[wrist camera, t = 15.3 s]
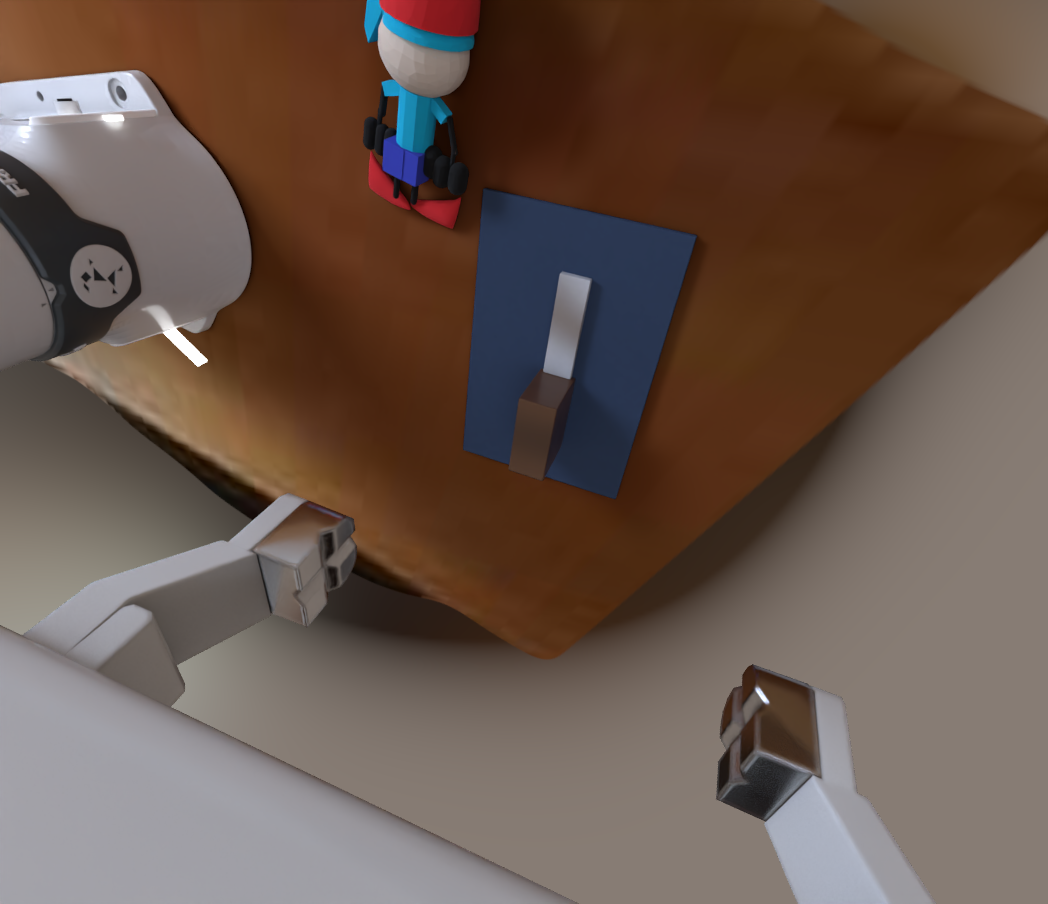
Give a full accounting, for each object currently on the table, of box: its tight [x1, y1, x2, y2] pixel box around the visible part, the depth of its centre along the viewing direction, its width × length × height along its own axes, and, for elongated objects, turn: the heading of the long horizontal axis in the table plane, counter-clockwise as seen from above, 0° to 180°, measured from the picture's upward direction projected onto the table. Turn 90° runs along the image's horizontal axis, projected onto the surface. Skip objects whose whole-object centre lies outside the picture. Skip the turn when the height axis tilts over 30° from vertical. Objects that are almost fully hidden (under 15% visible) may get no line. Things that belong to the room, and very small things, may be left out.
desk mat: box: [463, 188, 697, 499], centre depth 38 cm, size 13×20×1 cm, turn 172°
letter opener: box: [509, 271, 592, 481], centre depth 36 cm, size 13×3×5 cm, turn 172°
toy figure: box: [363, 0, 481, 229], centre depth 30 cm, size 8×5×15 cm
